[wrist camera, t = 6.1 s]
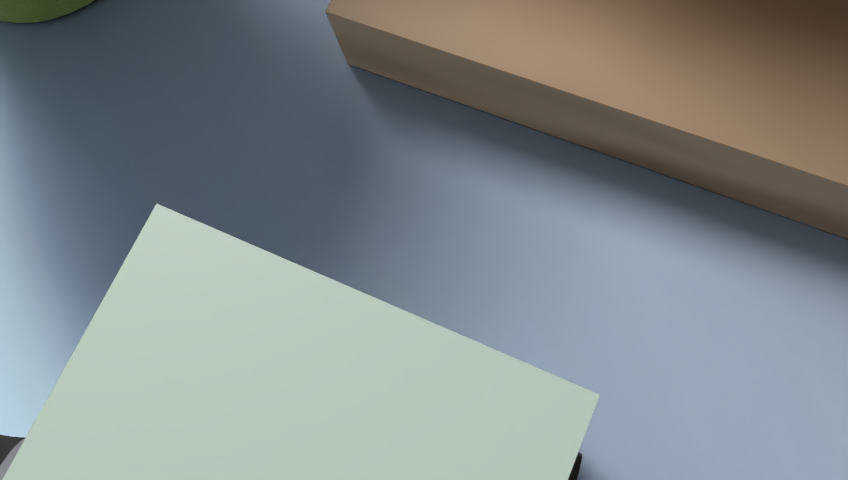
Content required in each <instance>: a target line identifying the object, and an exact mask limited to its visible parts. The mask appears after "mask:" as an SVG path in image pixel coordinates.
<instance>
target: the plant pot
mask: <svg viewBox="0 0 848 480" xmlns="http://www.w3.org/2000/svg"><path fill="white" fill-rule="evenodd" d="M93 1H94V0H0V21H4V22H13V23H34V22H41V21H47V20H52V19H55V18H58V17H61V16H64V15H67V14H70V13H72V12H74V11H76V10H78V9H80V8H82V7H84V6H86V5H88V4H90V3H91V2H93Z"/></svg>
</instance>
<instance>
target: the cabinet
mask: <svg viewBox="0 0 848 480" xmlns="http://www.w3.org/2000/svg"><path fill="white" fill-rule="evenodd" d="M598 398H599V394H597V393H595V392H592V391H590V390H588V389H585V388H583V387H581V386H578V385H576V384H574V383H572V382H569V381H567V380H565V379H562V378H560V377H558V376H555V375H553V374H551V373H548V372H546V371H544V370H541V369H539V368H537V367H534V366H532V365H530V364H527V363H525V362H523V361H521V360H518V359H516V358H514V357H511V356H509V355H507V354H504V353H502V352H500V351H497V350H495V349H493V348H490V347H488V346H486V345H483V344H481V343H479V342H476V341H474V340H472V339H470V338H467V337H465V336H463V335H460V334H458V333H456V332H453V331H451V330H449V329H446V328H444V327H442V326H439V325H437V324H435V323H432V322H430V321H428V320H425V319H423V318H421V317H419V316H416V315H414V314H412V313H409V312H407V311H405V310H402V309H400V308H398V307H395V306H393V305H391V304H388V303H386V302H384V301H381V300H379V299H377V298H375V297H372V296H370V295H368V294H365V293H363V292H361V291H358V290H356V289H354V288H351V287H349V286H347V285H344V284H342V283H340V282H337V281H335V280H333V279H330V278H328V277H326V276H324V275H321V274H319V273H317V272H314V271H312V270H310V269H307V268H305V267H303V266H300V265H298V264H296V263H293V262H291V261H289V260H286V259H284V258H282V257H279V256H277V255H275V254H273V253H270V252H268V251H266V250H263V249H261V248H259V247H256V246H254V245H252V244H249V243H247V242H245V241H242V240H240V239H238V238H235V237H233V236H231V235H228V234H226V233H224V232H222V231H219V230H217V229H215V228H212V227H210V226H208V225H205V224H203V223H201V222H198V221H196V220H194V219H191V218H189V217H187V216H184V215H182V214H180V213H177V212H175V211H173V210H171V209H168V208H166V207H164V206H161V205H159V204H156V205H155V207H154V209H153V211H152V213H151V214H150V216H149V218H148V220H147V222H146V223H145V225H144V227H143V229H142V230H141V232H140V234H139V236H138V238H137V239H136V241H135V243H134V245H133V247H132V248H131V250H130V252H129V254H128V256H127V257H126V259H125V261H124V263H123V264H122V266H121V268H120V270H119V272H118V273H117V275H116V277H115V279H114V281H113V282H112V284H111V286H110V288H109V290H108V291H107V293H106V295H105V297H104V299H103V300H102V302H101V304H100V306H99V307H98V309H97V311H96V313H95V315H94V316H93V318H92V320H91V322H90V324H89V325H88V327H87V329H86V331H85V333H84V334H83V336H82V338H81V340H80V342H79V343H78V345H77V347H76V349H75V350H74V352H73V354H72V356H71V358H70V359H69V361H68V363H67V365H66V367H65V368H64V370H63V372H62V374H61V376H60V377H59V379H58V381H57V383H56V384H55V386H54V388H53V390H52V392H51V393H50V395H49V397H48V399H47V401H46V402H45V404H44V406H43V408H42V410H41V411H40V413H39V415H38V417H37V419H36V420H35V422H34V424H33V426H32V427H31V429H30V431H29V433H28V435H27V436H26V438H25V440H24V442H23V444H22V445H21V447H20V449H19V451H18V453H17V454H16V456H15V458H14V460H13V462H12V463H11V465H10V467H9V469H8V470H7V472H6V474H5V476H4V478H3V479H2V480H568V478H569V476H570V473H571V470H572V468H573V465H574V462H575V460H576V457H577V454H578V451H579V449H580V446H581V443H582V441H583V438H584V435H585V433H586V430H587V427H588V425H589V422H590V419H591V417H592V414H593V411H594V409H595V406H596V403H597V401H598Z"/></svg>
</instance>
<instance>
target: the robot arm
mask: <svg viewBox="0 0 848 480" xmlns="http://www.w3.org/2000/svg"><path fill="white" fill-rule="evenodd" d="M24 440H25V438H19V437H10V436H4V435H0V480H2V479H3V478H4V476H5V474H6V472H7V470H8V469H9V467H10V465H11V463H12V462H13V460H14V458H15V456H16V454H17V453H18V451H19V449H20V447H21V445H22V444H23V442H24ZM581 460H582V454H581V453H579V452H578V454H577V457H576V460H575V462H574V465H573V468H572V470H571V473H570V476H569V478H568V480H577V477H578V473H579V469H580V464H581Z"/></svg>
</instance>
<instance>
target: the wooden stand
mask: <svg viewBox="0 0 848 480" xmlns="http://www.w3.org/2000/svg"><path fill="white" fill-rule="evenodd" d="M325 12H326V14H327V17H328V19H329V21H330V23H331V26H332V28H333V30H334V33H335V35H336V37H337V40H338V42H339V44H340V47H341V49H342V51H343V54H344V56H345V58H346V61H347V63H348V64H350V65H353V66H355V67H358V68H361V69H364V70H367V71H370V72H373V73H375V74H378V75H381V76H384V77H387V78H390V79H393V80H395V81H398V82H401V83H404V84H407V85H410V86H413V87H415V88H418V89H421V90H424V91H427V92H430V93H433V94H435V95H438V96H441V97H444V98H447V99H450V100H452V101H455V102H458V103H461V104H464V105H467V106H470V107H472V108H475V109H478V110H481V111H484V112H487V113H490V114H492V115H495V116H498V117H501V118H504V119H507V120H510V121H512V122H515V123H518V124H521V125H524V126H527V127H530V128H532V129H535V130H538V131H541V132H544V133H547V134H550V135H552V136H555V137H558V138H561V139H564V140H567V141H569V142H572V143H575V144H578V145H581V146H584V147H587V148H589V149H592V150H595V151H598V152H601V153H604V154H607V155H609V156H612V157H615V158H618V159H621V160H624V161H627V162H629V163H632V164H635V165H638V166H641V167H644V168H647V169H649V170H652V171H655V172H658V173H661V174H664V175H667V176H669V177H672V178H675V179H678V180H681V181H684V182H686V183H689V184H692V185H695V186H698V187H701V188H704V189H706V190H709V191H712V192H715V193H718V194H721V195H724V196H726V197H729V198H732V199H735V200H738V201H741V202H744V203H746V204H749V205H752V206H755V207H758V208H761V209H764V210H766V211H769V212H772V213H775V214H778V215H781V216H784V217H786V218H789V219H792V220H795V221H798V222H801V223H803V224H806V225H809V226H812V227H815V228H818V229H821V230H823V231H826V232H829V233H832V234H835V235H838V236H841V237H843V238H846V239H848V0H331V2H330V4H329V5H328V7H327V9H326V11H325Z"/></svg>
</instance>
